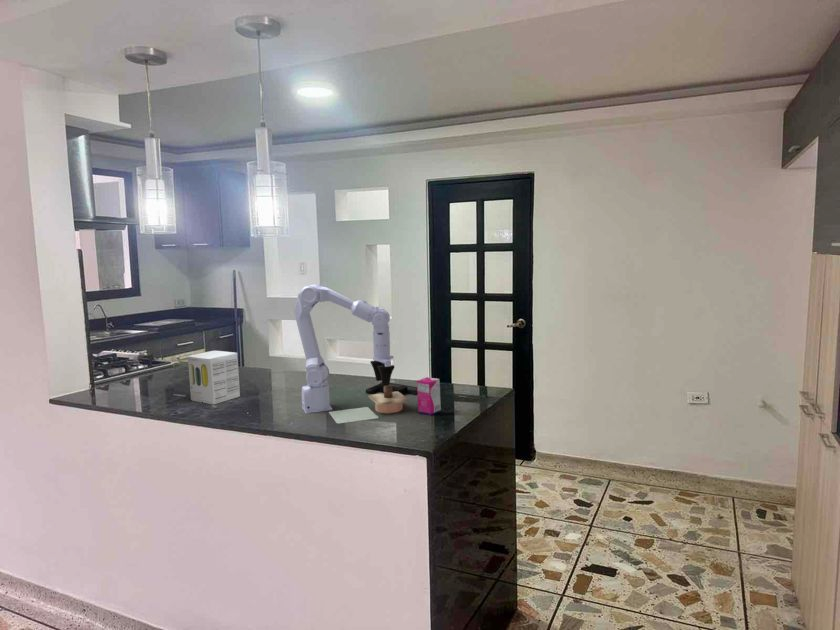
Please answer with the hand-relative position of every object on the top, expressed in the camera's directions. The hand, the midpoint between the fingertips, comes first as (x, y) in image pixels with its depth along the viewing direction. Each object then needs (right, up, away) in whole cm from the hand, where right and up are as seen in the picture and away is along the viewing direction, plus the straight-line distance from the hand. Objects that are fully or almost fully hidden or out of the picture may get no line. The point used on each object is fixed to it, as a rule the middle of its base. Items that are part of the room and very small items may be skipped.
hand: (382, 382), depth 195 cm
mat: (-10, -10, -6) cm, 15 cm away
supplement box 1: (-66, -9, +20) cm, 69 cm away
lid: (+2, -5, -1) cm, 6 cm away
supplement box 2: (+16, -10, -4) cm, 19 cm away
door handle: (+2, -8, +20) cm, 22 cm away
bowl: (+2, -9, -1) cm, 10 cm away
